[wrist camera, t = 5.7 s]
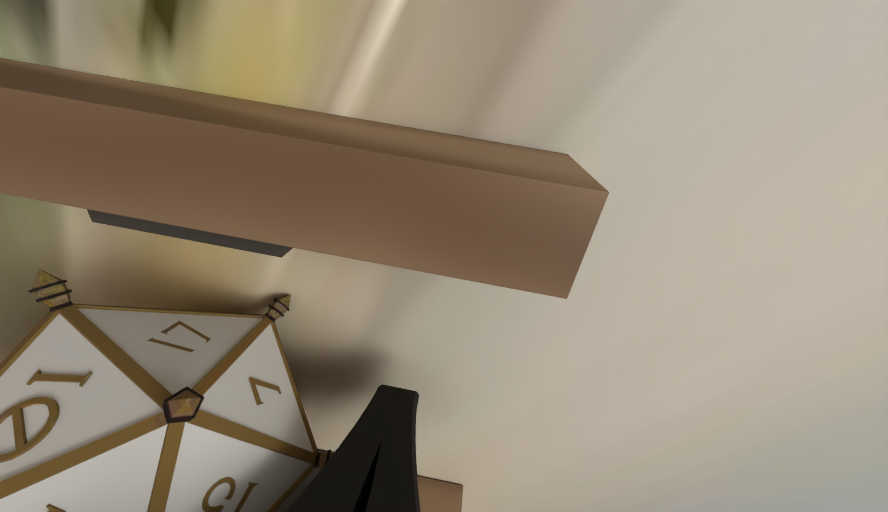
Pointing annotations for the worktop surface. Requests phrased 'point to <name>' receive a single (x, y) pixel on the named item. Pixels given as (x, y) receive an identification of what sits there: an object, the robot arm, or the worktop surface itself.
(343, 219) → the twin wooden rails
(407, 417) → the robot arm
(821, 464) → the worktop surface
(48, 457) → the game die
